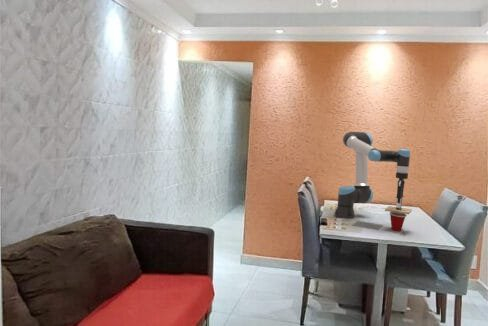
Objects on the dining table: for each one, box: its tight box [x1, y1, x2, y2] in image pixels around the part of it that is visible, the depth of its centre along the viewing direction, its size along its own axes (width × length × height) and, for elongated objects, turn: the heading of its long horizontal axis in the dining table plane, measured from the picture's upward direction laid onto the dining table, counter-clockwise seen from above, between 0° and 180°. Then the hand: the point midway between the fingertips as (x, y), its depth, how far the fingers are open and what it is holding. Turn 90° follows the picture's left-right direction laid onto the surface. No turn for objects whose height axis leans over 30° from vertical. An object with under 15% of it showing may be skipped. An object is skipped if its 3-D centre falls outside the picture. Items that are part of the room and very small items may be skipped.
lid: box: [384, 196, 413, 215], centre depth 281 cm, size 15×15×10 cm
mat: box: [351, 220, 384, 231], centre depth 292 cm, size 18×18×1 cm
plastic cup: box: [389, 212, 408, 232], centre depth 282 cm, size 11×11×12 cm
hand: (398, 207), depth 281 cm, fingers closed on lid, 3 cm apart
